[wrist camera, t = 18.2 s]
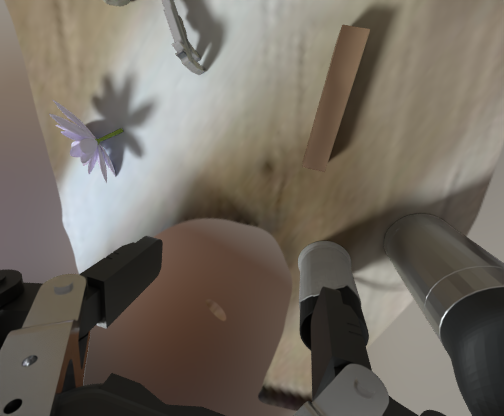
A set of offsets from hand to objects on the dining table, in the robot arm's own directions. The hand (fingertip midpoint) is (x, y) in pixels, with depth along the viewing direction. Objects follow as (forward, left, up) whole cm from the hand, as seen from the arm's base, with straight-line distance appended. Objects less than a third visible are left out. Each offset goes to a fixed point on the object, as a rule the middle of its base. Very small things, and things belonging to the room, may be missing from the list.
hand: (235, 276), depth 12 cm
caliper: (+20, -20, -29) cm, 41 cm away
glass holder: (-12, +16, -28) cm, 35 cm away
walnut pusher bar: (-4, -10, -28) cm, 30 cm away
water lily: (+32, +2, -28) cm, 43 cm away
